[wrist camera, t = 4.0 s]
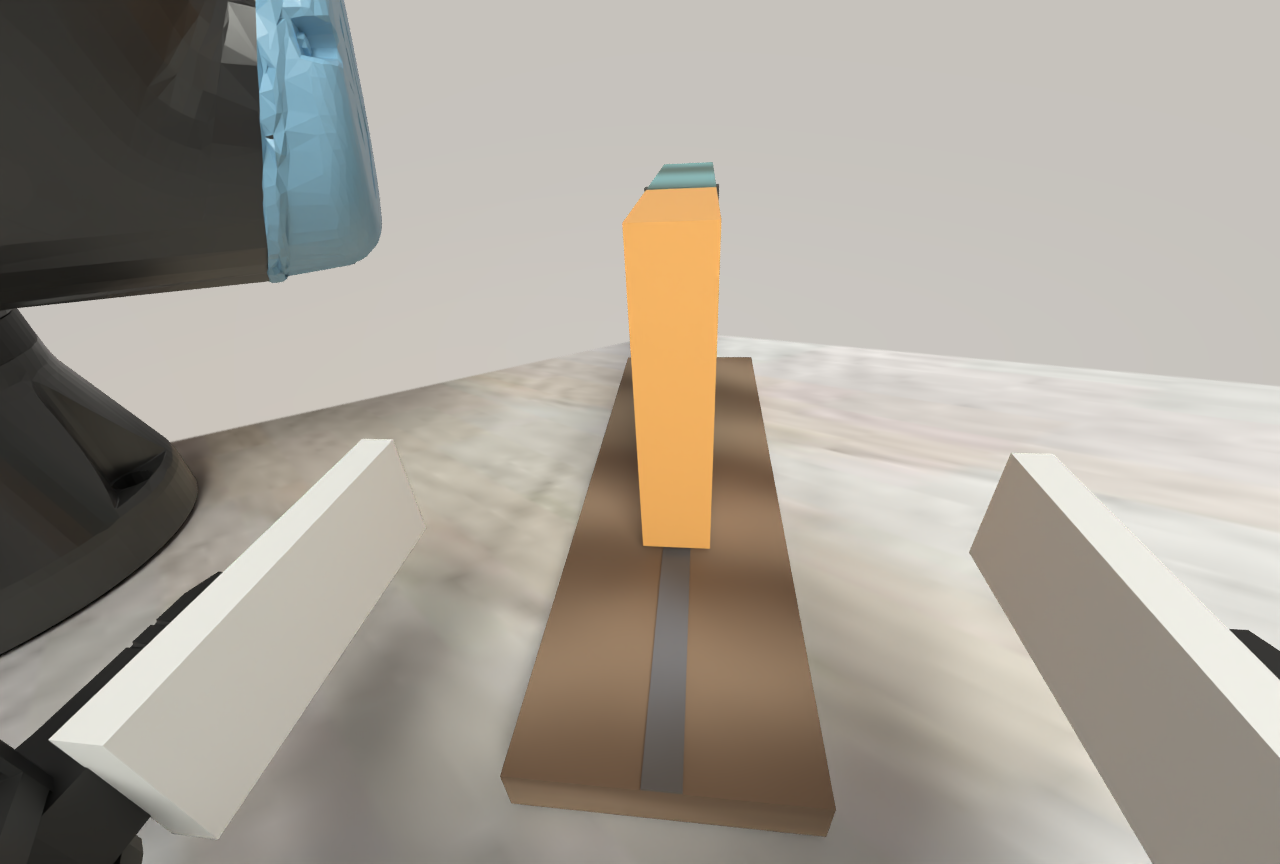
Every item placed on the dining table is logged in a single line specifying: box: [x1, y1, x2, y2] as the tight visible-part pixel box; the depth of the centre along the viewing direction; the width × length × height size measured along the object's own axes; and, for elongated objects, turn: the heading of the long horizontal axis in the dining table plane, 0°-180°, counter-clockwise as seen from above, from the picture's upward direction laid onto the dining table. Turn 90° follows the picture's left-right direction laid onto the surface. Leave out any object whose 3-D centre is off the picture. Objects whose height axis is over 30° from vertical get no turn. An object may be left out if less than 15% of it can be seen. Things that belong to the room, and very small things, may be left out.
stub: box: [622, 187, 721, 549], centre depth 18 cm, size 6×2×11 cm, turn 174°
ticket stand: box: [500, 162, 836, 837], centre depth 20 cm, size 25×8×13 cm, turn 174°
